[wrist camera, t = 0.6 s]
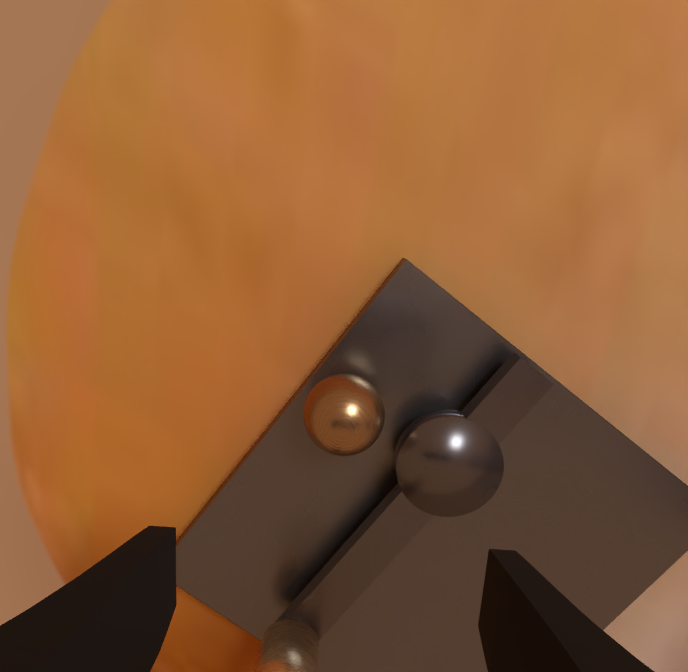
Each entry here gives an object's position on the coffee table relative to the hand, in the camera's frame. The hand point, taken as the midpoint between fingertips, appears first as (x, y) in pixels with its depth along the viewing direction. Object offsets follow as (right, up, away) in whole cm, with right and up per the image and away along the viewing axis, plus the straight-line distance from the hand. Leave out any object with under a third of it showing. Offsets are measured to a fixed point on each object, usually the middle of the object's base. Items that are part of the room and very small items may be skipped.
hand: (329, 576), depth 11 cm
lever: (+2, -2, +9) cm, 9 cm away
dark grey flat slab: (+4, -3, +11) cm, 12 cm away
